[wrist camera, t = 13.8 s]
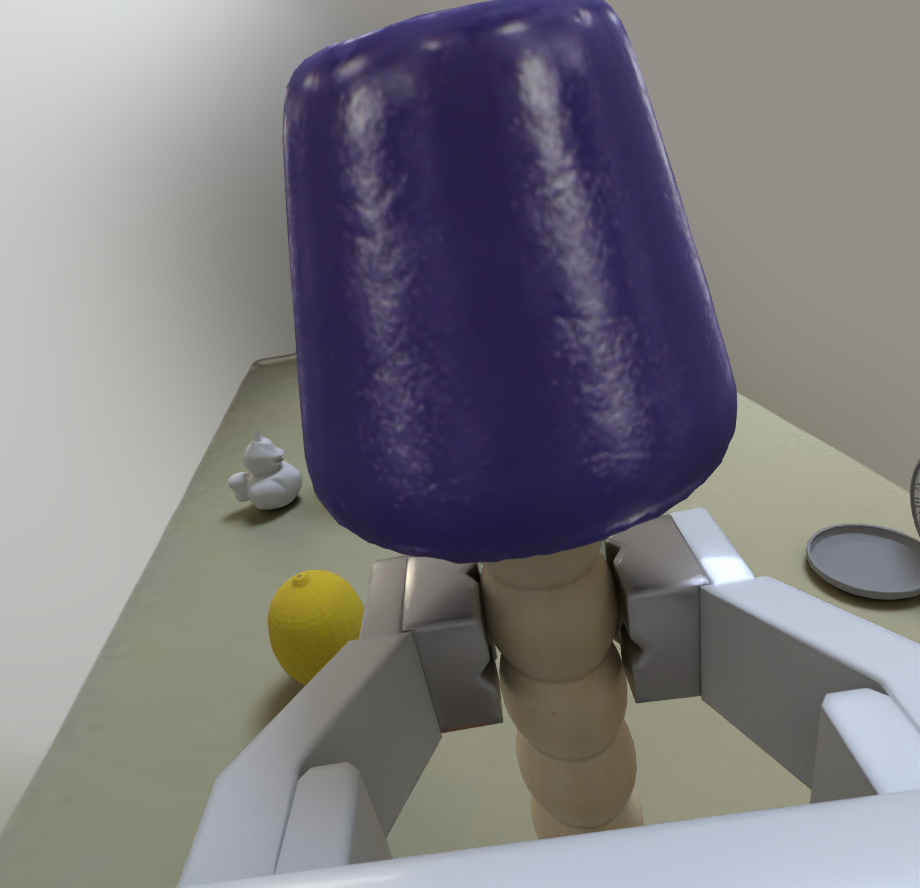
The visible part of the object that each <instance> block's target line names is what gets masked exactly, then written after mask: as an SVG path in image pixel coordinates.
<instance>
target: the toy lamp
mask: <svg viewBox="0 0 920 888" xmlns="http://www.w3.org/2000/svg"><path fill="white" fill-rule="evenodd" d="M283 155H284V175H285V192H286V211H287V227H288V244H289V257H290V271H291V285H292V296H293V309H294V323H295V339H296V354H297V368H298V382H299V396H300V408H301V419H302V430H303V441H304V452H305V459H306V463H307V468H308V472H309V475H310V478H311V481H312V484H313V488H314V491H315V493H316V495H317V497H318V499H319V501H320V502H321V503H322V504H323V505H324V507H325V508H326V509H327V510H328V512H329V513H330V514H331V515H332V516H333V518H334V519H335V520H336V521H337V522H338V524H340V525H342V526H343V527H345V528H347V529H349V530H350V531H351V532H353V533H354V534H356V535H358V536H359V537H360V538H362V539H364V540H365V541H367V542H369V543H372V544H376V545H378V546H380V547H382V548H386V549H390V550H393V551H395V552H398V553H401V554H405V555H409V556H413V557H429V558H434V559H441V560H446V561H449V562H452V563H455V564H464V563H479V562H481V563H482V565H483V568H482V572H481V575H480V583H479V589H480V594H481V598H482V603H483V609H484V614H485V619H486V623H487V630H488V632H489V634H490V636H491V639H492V641H493V642H494V644H495V645H496V646H497V648H498V649H499V651H500V652H501V658H500V668H499V675H500V688H501V691H502V695H503V699H504V703H505V706H506V708H507V711H508V713H509V715H510V717H511V719H512V721H513V722H514V724H515V726H516V727H517V737H516V751H517V759H518V763H519V767H520V771H521V775H522V777H523V780H524V782H525V784H526V786H527V788H528V789H529V791H530V793H531V810H532V819H533V823H534V827H535V831H536V833H537V835H538V838H539V840H540V839H548V838H555V837H563V836H570V835H578V834H585V833H593V832H601V831H608V830H616V829H623V828H631V827H638V826H643V815H642V809H641V804H640V800H639V797H638V795H637V792H636V790H635V788H634V785H635V778H636V771H637V765H636V752H635V747H634V741H633V739H632V736H631V734H630V731H629V728H628V726H627V724H626V722H625V720H624V715H625V711H626V707H627V682H626V675H625V670H624V668H623V665H622V660H621V658H620V655H619V653H618V650H617V649H616V647H615V645H614V643H613V642H612V641H613V638H614V634H615V630H616V626H617V621H618V600H617V594H616V589H615V583H614V579H613V576H612V572H611V570H610V568H609V566H608V564H607V562H606V560H605V558H604V557H603V555H602V554H601V553H600V551H599V550H600V548H601V545H602V542H603V541H604V540H606V539H607V538H609V537H610V536H612V535H615V534H618V533H621V532H623V531H626V530H627V529H629V528H631V527H633V526H636V525H638V524H641V523H644V522H647V521H649V520H652V519H655V518H658V517H660V516H661V515H662V514H664V513H665V512H666V511H668V510H669V509H670V508H672V507H673V506H675V505H676V504H678V503H679V502H681V501H683V500H685V499H687V498H688V497H689V496H690V495H691V493H692V492H693V491H694V490H695V489H697V488H698V487H699V486H700V485H702V484H703V483H704V482H705V481H706V480H707V478H708V477H709V476H710V475H711V474H712V473H713V472H714V471H715V469H716V468H717V467H718V466H719V465H720V464H721V462H722V460H723V458H724V455H725V453H726V451H727V449H728V445H729V443H730V441H731V439H732V437H733V435H734V432H735V427H736V417H737V392H736V385H735V381H734V377H733V373H732V370H731V366H730V362H729V358H728V354H727V351H726V348H725V344H724V341H723V337H722V334H721V331H720V328H719V324H718V320H717V317H716V313H715V309H714V306H713V302H712V298H711V295H710V291H709V287H708V284H707V280H706V277H705V274H704V271H703V268H702V265H701V262H700V259H699V256H698V253H697V250H696V247H695V244H694V241H693V238H692V235H691V231H690V227H689V224H688V221H687V217H686V214H685V210H684V207H683V204H682V200H681V197H680V193H679V190H678V187H677V184H676V181H675V177H674V174H673V171H672V168H671V165H670V162H669V158H668V155H667V152H666V149H665V146H664V143H663V139H662V136H661V133H660V130H659V127H658V124H657V120H656V117H655V114H654V111H653V108H652V105H651V102H650V98H649V95H648V92H647V89H646V86H645V83H644V80H643V76H642V73H641V70H640V67H639V64H638V61H637V58H636V56H635V52H634V49H633V47H632V44H631V42H630V40H629V37H628V35H627V33H626V31H625V28H624V26H623V24H622V22H621V20H620V19H619V17H618V16H617V15H616V13H615V12H614V10H613V9H612V8H611V6H610V5H608V4H607V3H606V2H605V1H604V0H490V1H486V2H481V3H476V4H471V5H466V6H461V7H457V8H452V9H447V10H442V11H437V12H433V13H428V14H423V15H418V16H415V17H412V18H409V19H407V20H404V21H401V22H398V23H395V24H392V25H389V26H386V27H383V28H380V29H377V30H375V31H372V32H369V33H366V34H363V35H360V36H357V37H354V38H352V39H348V40H345V41H343V42H339V43H336V44H333V45H330V46H327V47H325V48H323V49H322V50H320V51H318V52H317V53H315V54H313V55H312V56H310V57H309V58H307V59H305V60H304V61H303V62H302V63H301V64H300V65H299V66H298V68H297V69H296V70H295V71H294V72H293V75H292V77H291V79H290V82H289V83H288V85H287V90H286V96H285V104H284V116H283Z"/></svg>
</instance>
